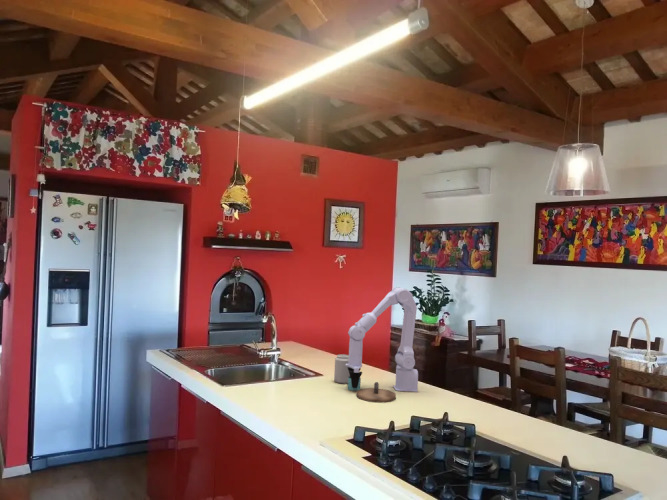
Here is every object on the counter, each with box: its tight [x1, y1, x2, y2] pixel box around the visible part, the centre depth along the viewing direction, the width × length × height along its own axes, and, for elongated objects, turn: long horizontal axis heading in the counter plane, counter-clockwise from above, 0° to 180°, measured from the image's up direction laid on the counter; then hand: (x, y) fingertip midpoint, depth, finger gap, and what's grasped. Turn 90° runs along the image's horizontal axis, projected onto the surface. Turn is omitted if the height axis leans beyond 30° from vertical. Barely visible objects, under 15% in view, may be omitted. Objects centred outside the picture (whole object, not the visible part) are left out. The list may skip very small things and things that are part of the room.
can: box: [333, 354, 350, 385], centre depth 240 cm, size 8×8×12 cm
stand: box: [355, 381, 397, 403], centre depth 218 cm, size 16×16×6 cm
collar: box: [347, 376, 362, 392], centre depth 228 cm, size 5×5×5 cm
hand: (353, 385), depth 228 cm, fingers closed on collar, 5 cm apart
